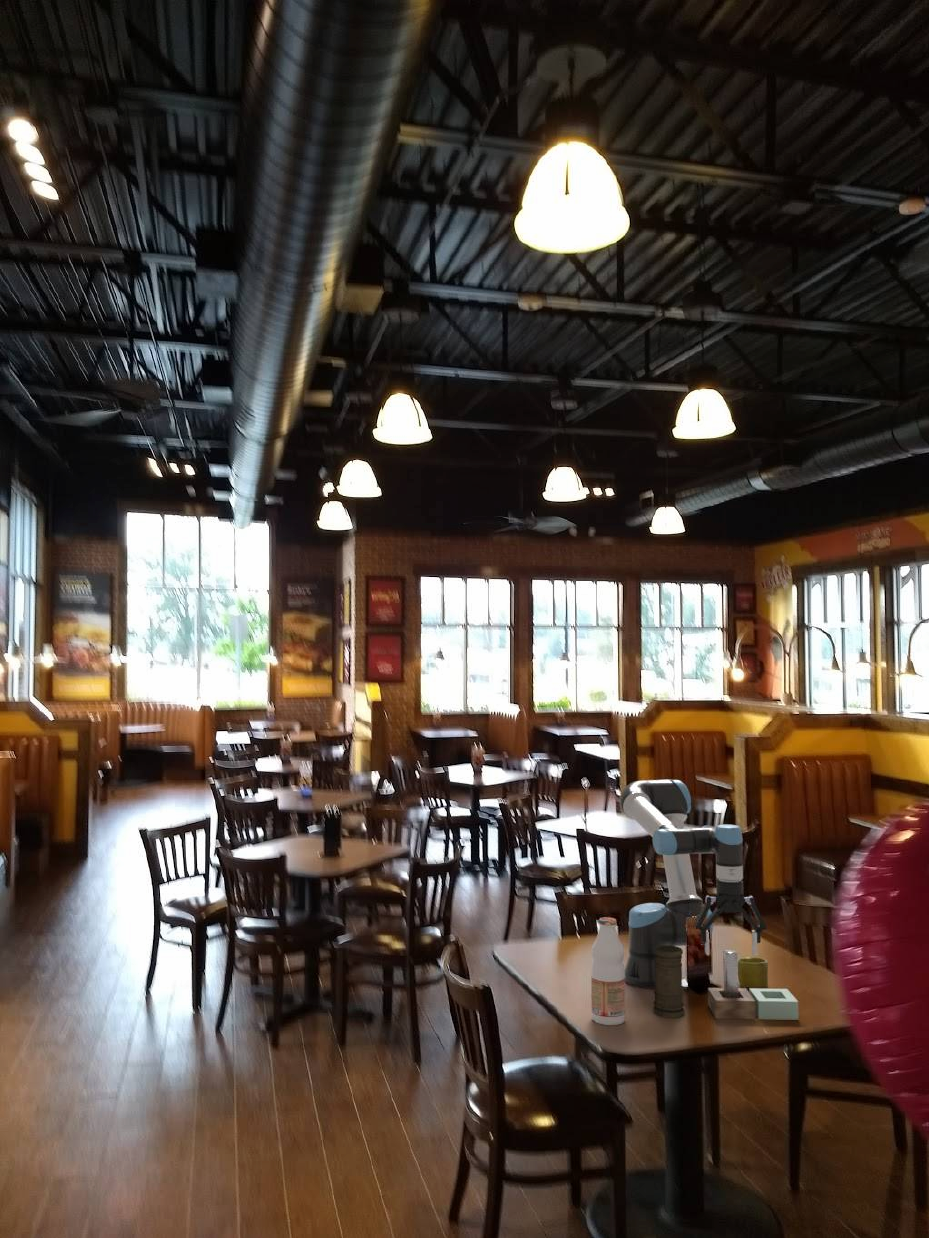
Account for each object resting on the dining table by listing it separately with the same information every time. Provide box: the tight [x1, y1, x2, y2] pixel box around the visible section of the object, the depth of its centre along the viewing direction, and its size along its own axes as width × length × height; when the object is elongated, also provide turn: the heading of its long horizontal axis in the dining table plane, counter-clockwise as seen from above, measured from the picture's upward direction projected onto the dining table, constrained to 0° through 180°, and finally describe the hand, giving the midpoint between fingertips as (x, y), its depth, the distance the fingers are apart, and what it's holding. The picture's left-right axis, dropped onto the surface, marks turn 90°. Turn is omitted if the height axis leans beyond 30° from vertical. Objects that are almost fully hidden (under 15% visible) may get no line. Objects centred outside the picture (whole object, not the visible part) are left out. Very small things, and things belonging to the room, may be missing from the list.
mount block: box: [707, 987, 756, 1020], centre depth 282 cm, size 11×11×5 cm
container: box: [652, 945, 685, 1019], centre depth 282 cm, size 9×9×18 cm
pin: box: [722, 949, 739, 998], centre depth 282 cm, size 4×4×17 cm
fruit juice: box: [590, 916, 626, 1026], centre depth 276 cm, size 9×9×28 cm
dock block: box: [748, 988, 800, 1021], centre depth 281 cm, size 11×11×5 cm
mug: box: [738, 956, 769, 990], centre depth 306 cm, size 12×10×10 cm
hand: (731, 954), depth 282 cm, fingers open, 13 cm apart
